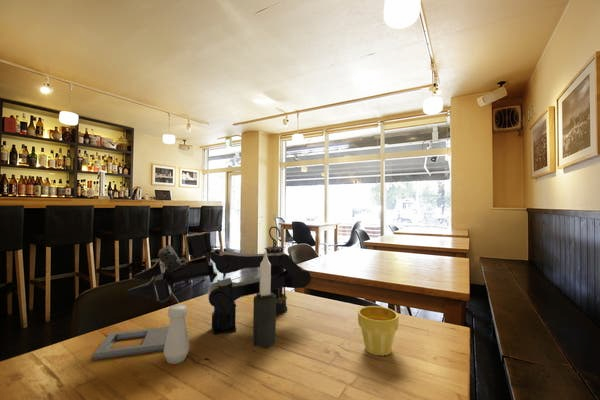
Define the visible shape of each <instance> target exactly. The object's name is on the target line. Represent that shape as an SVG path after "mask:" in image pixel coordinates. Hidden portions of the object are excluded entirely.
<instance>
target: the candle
mask: <svg viewBox="0 0 600 400" xmlns="http://www.w3.org/2000/svg"><path fill="white" fill-rule="evenodd" d="M263 254H264V257H263V261H262V262H261V264H260V267H259V278H260V292H258V293H257V294H256V295H255V296H254V297H253V314H252V315H253V317H252V318H253V324H252V329H253V330H252V345H253V346H255V347H260V348H263V349H268V348H271V347H272V346H273V345H274V344H275V343H276V337H277V336H276V332H277V331H276V329H277V328H276V326H277V324H276V322H277V315H276V295H274V294H273V293H272V292H270V286H271V264H270V262H269V260H268V257H267V252H266V251H264V253H263Z"/></svg>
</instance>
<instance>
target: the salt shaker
mask: <svg viewBox="0 0 600 400" xmlns="http://www.w3.org/2000/svg"><path fill="white" fill-rule="evenodd" d="M187 312H188V309H187V305H186V304H180V303H179V304H178V303H177V304H174V305H171V306H170V307H169V308H168V309H167V317H168V318H169V319H170V321H169V324H168V326H169V329H168V334H167V338H166V343H165V347H164V350H163V356H164V357H165V359H166V362H167V363H168V364H171V365H177V364H180V363H183V362H184V361H185V360H186V358H187V355H188V353H189V351H190V348H191V347H190V346H191V345H190V341H189V336H188V335H189V334H188V330H187V323H186V316H187Z"/></svg>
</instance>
